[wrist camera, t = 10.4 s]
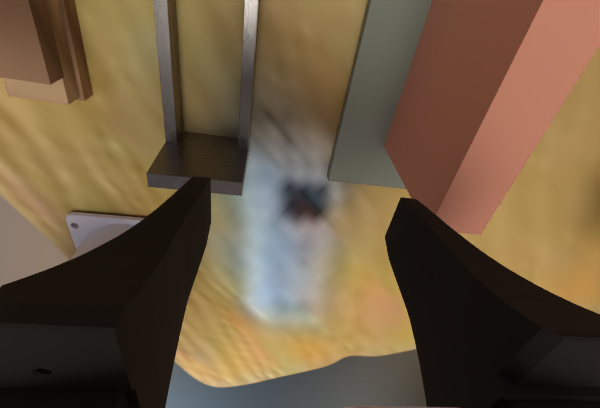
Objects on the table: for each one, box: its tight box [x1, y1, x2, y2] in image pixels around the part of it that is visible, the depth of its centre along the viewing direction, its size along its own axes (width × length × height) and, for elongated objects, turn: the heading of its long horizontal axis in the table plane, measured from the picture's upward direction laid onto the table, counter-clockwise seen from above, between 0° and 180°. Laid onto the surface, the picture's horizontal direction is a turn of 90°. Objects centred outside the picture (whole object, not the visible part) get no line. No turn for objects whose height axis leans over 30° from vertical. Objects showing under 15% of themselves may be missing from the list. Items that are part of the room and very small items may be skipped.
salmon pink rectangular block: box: [384, 0, 600, 235], centre depth 15 cm, size 10×2×8 cm, turn 171°
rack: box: [146, 0, 260, 196], centre depth 15 cm, size 14×5×5 cm, turn 171°
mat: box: [327, 0, 432, 189], centre depth 19 cm, size 16×8×1 cm, turn 171°
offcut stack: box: [0, 0, 93, 105], centre depth 15 cm, size 8×3×4 cm, turn 170°
